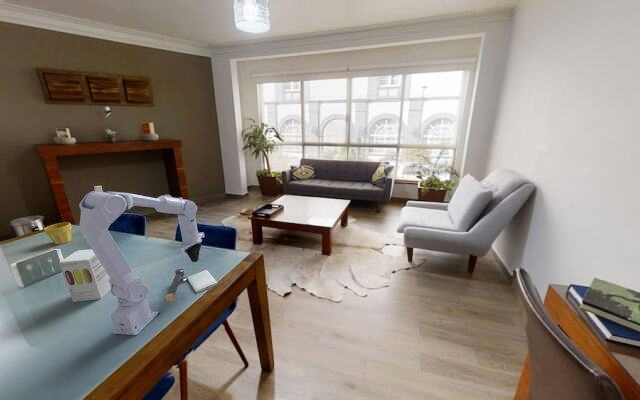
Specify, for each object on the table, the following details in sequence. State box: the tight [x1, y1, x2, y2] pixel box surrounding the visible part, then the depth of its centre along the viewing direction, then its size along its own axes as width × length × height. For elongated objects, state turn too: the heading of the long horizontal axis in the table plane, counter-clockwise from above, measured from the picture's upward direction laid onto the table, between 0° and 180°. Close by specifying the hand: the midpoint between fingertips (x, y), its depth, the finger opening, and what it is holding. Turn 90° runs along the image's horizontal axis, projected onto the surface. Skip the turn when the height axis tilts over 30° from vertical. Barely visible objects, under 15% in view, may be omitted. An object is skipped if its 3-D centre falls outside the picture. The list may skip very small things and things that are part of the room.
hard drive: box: [186, 269, 219, 294], centre depth 102 cm, size 2×8×12 cm
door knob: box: [179, 275, 188, 285], centre depth 102 cm, size 4×4×3 cm
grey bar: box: [164, 268, 185, 302], centre depth 95 cm, size 3×18×2 cm, turn 17°
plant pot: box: [43, 221, 73, 245], centre depth 138 cm, size 10×10×10 cm
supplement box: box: [58, 248, 111, 303], centre depth 94 cm, size 10×9×17 cm
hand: (195, 261), depth 99 cm, fingers closed
